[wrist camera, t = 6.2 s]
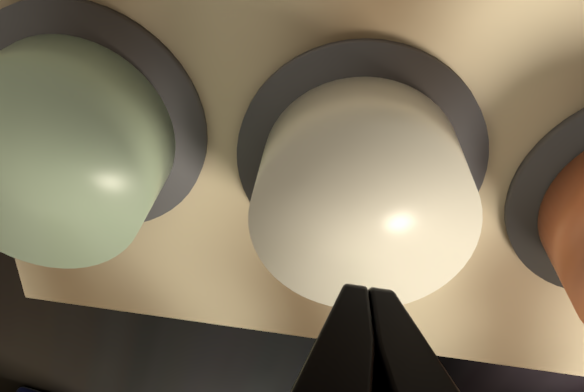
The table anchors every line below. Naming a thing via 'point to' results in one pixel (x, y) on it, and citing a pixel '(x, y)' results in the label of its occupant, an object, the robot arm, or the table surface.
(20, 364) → the table surface
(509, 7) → the panel
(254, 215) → the cream button
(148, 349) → the table surface
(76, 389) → the table surface
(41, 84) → the sage button
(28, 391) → the supplement box
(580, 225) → the rust button
